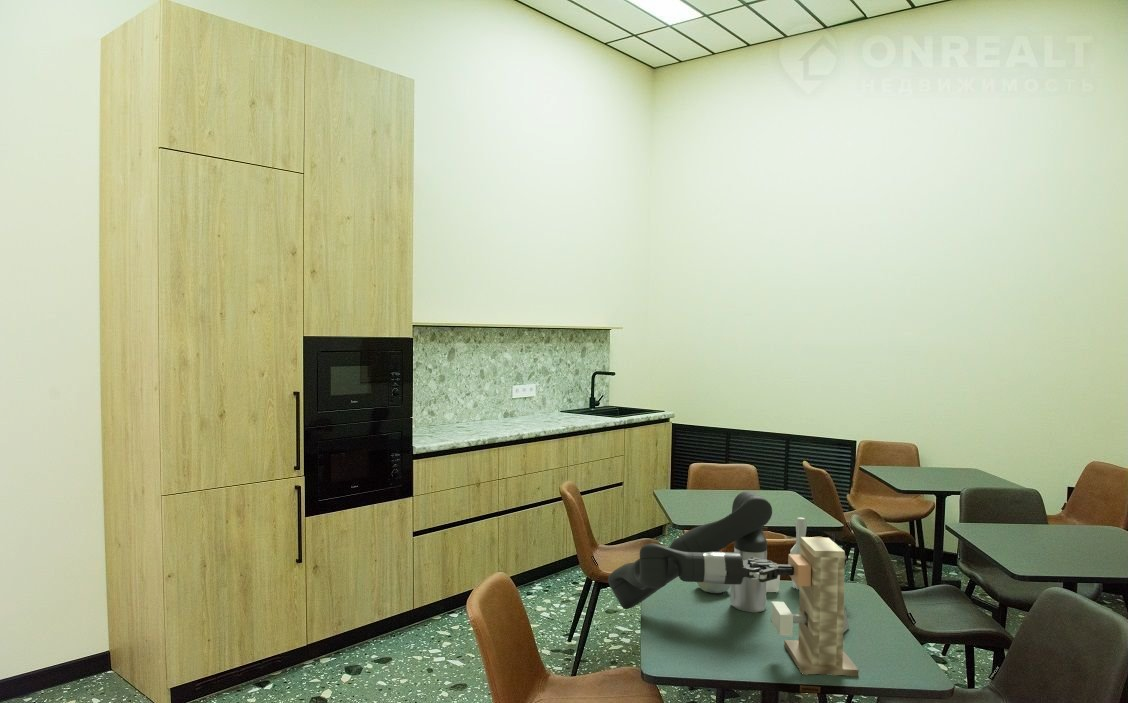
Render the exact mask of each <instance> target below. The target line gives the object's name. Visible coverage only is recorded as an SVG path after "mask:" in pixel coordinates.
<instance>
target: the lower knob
mask: <svg viewBox="0 0 1128 703" xmlns="http://www.w3.org/2000/svg"><path fill="white" fill-rule="evenodd" d="M770 603H771V604H770V605H771V606H770V608H771V610H770V611H771V614H770V617H771V618H770V621H771V623H772V625H773V627H774V628H775V630H776V632H777V633H778V634H779V636H781V637H794V624H799V623H808V615H799V613H798V614H793V612H792V611H791V610H790V608H789V607H788V606H787V604H786V603H785V602H784V601H771V602H770Z"/></svg>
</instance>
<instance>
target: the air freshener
mask: <svg viewBox="0 0 1128 703" xmlns="http://www.w3.org/2000/svg"><path fill="white" fill-rule="evenodd" d="M696 583H697V586H698V587H699V588H700V589H701V590H702V591H704V592H705V591H706V592H705V593H707V592H710V593H709V594H722V592H723V593H725V592H727V591H728V590H730V589H731V584H712V583H706V582H696Z"/></svg>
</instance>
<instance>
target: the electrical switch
mask: <svg viewBox="0 0 1128 703" xmlns="http://www.w3.org/2000/svg"><path fill="white" fill-rule="evenodd" d="M845 608H846V607H845V606H844V619H843V634H845V633H846V632H847V631H848V630H849V628H850V624H849V619H848V615H847V611H846V609H845Z"/></svg>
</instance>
